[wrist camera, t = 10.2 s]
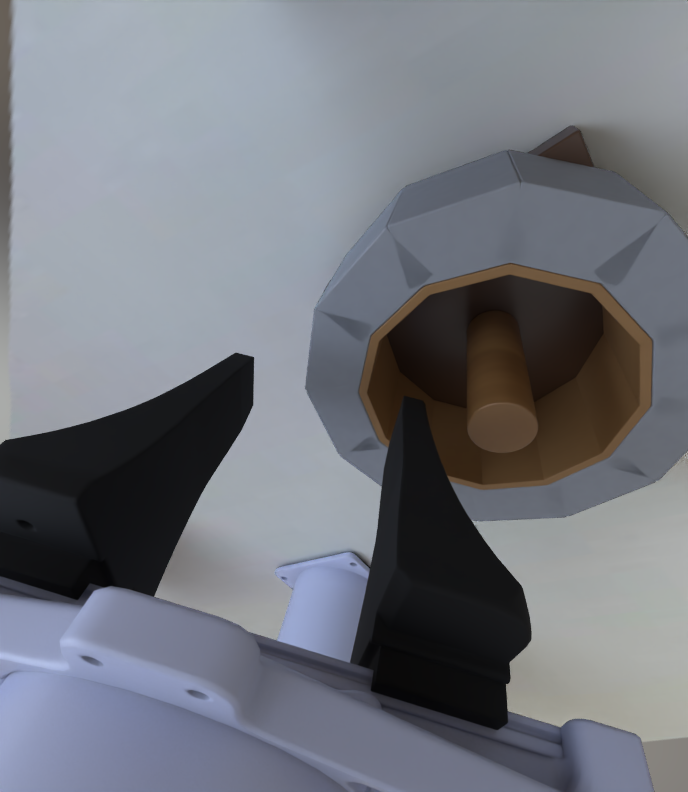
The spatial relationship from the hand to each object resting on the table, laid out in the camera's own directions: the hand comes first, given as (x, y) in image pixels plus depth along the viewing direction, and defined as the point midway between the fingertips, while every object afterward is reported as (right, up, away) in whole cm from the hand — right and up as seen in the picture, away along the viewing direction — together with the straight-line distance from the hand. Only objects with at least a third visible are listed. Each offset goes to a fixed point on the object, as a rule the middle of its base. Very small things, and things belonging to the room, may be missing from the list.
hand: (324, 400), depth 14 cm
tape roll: (+6, +3, +3) cm, 8 cm away
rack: (+7, +3, +4) cm, 9 cm away
